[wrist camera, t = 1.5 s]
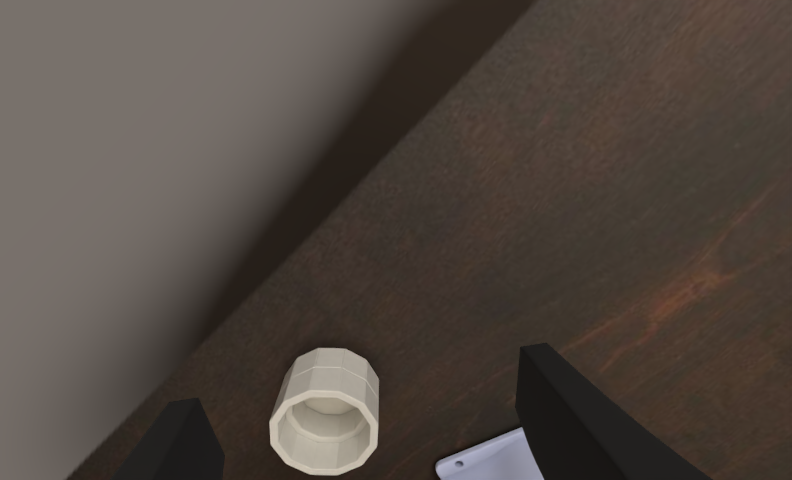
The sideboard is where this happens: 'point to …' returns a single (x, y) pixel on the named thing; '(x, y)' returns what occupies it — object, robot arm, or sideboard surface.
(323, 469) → the bowl
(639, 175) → the sideboard surface
